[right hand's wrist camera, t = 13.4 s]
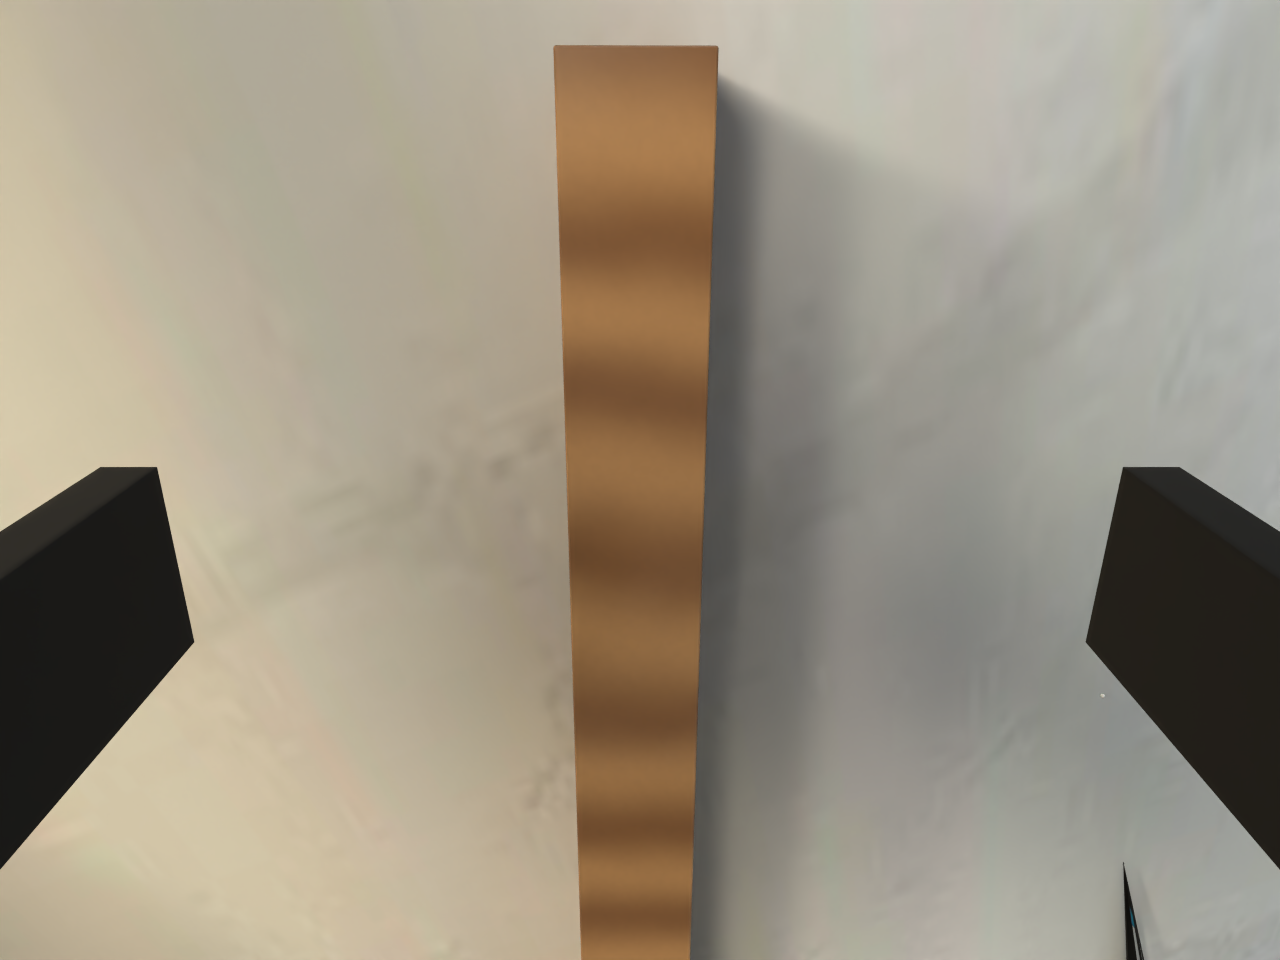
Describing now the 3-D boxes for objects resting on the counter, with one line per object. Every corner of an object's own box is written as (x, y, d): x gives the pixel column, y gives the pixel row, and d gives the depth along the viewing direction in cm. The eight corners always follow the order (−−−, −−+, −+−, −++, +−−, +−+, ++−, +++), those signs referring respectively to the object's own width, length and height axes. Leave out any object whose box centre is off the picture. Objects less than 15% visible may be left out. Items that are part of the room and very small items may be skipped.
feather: (1094, 676, 44) (1132, 691, 42) (1146, 1071, 53) (1179, 1096, 51) (1071, 694, 43) (1109, 709, 42) (1128, 1091, 52) (1161, 1117, 51)
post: (572, 61, 33) (553, 45, 25) (700, 62, 33) (718, 45, 25) (596, 1079, 53) (589, 1235, 46) (675, 1080, 53) (681, 1235, 46)
